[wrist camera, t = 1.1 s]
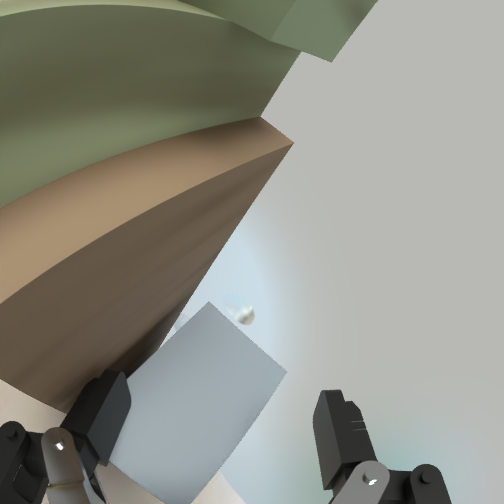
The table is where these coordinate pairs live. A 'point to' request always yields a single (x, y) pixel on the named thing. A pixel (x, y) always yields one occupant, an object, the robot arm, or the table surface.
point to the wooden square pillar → (120, 253)
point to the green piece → (143, 73)
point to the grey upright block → (193, 406)
